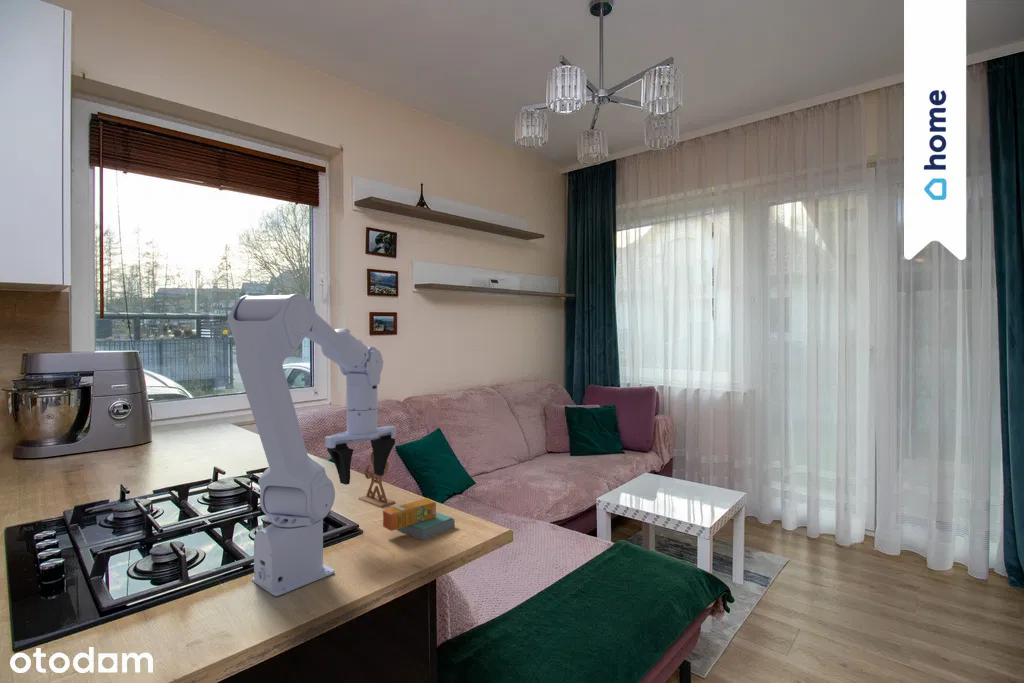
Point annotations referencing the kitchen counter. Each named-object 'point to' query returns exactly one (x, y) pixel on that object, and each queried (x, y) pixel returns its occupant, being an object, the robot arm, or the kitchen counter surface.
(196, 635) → the kitchen counter surface
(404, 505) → the supplement box
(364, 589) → the kitchen counter surface
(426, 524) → the podium
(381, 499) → the brown upright openwork piece
